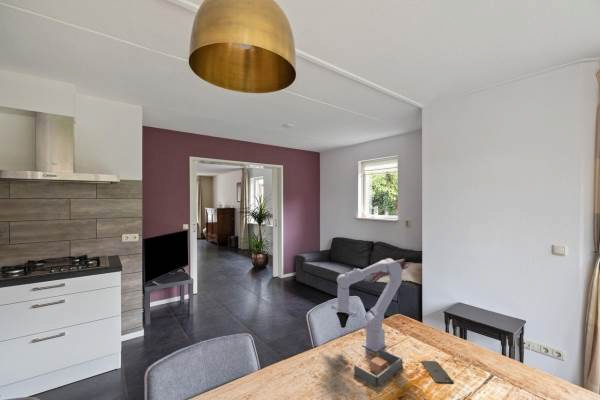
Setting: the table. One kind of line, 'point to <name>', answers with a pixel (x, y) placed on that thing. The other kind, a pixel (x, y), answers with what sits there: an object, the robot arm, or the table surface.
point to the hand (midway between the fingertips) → (343, 326)
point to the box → (384, 374)
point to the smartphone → (437, 372)
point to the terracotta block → (378, 365)
